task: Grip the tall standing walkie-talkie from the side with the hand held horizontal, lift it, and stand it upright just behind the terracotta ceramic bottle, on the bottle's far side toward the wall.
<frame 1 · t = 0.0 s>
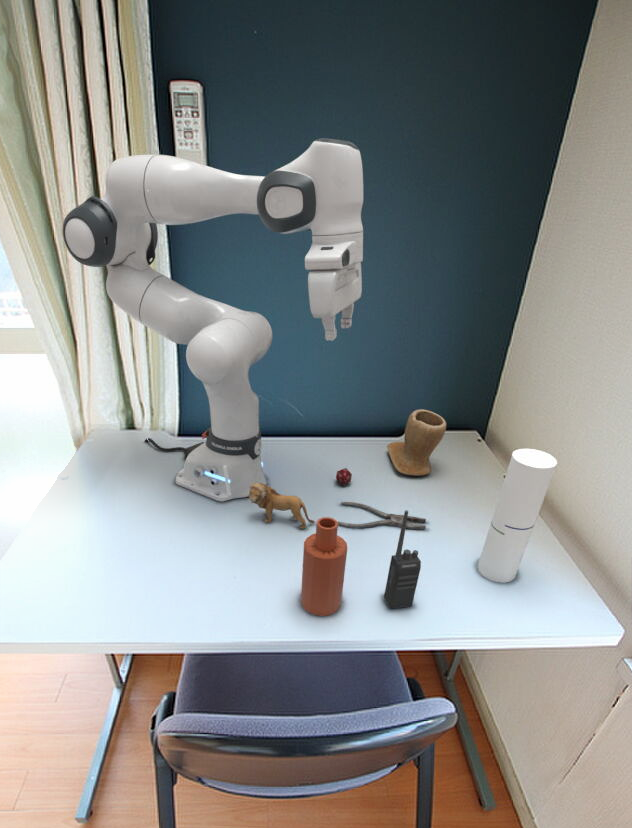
hand: (338, 333, 98), 39 cm above the table, tool pointing down, fingers open, 8 cm apart
cylindrical container: (496, 571, 102), on the table
bottle: (320, 601, 93), on the table
walkie-talkie: (397, 603, 93), on the table
stone cup: (412, 465, 137), on the table
pliers: (379, 517, 116), on the table
dice: (343, 484, 128), on the table
lion figurine: (279, 522, 114), on the table
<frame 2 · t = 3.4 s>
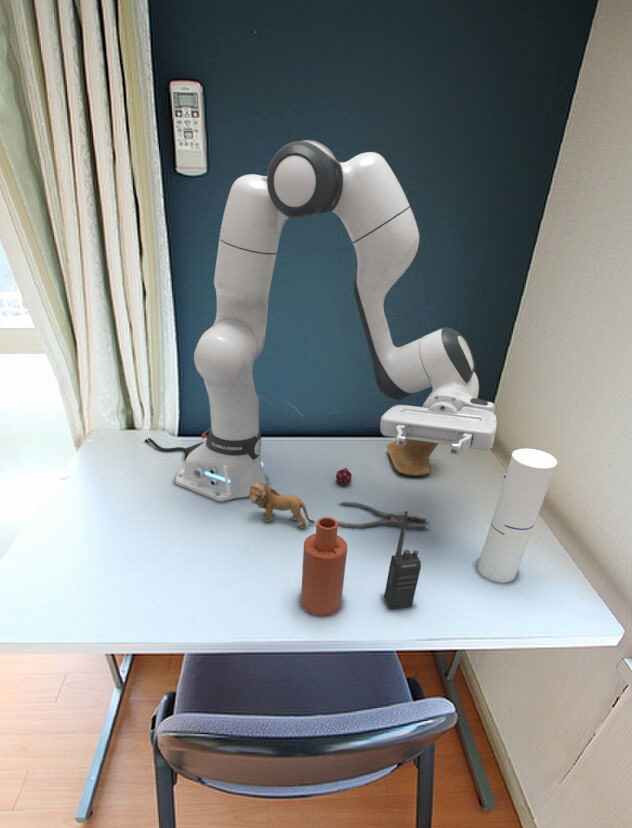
hand: (427, 446, 88), 26 cm above the table, tool horizontal, fingers open, 8 cm apart
nothing on the table moved.
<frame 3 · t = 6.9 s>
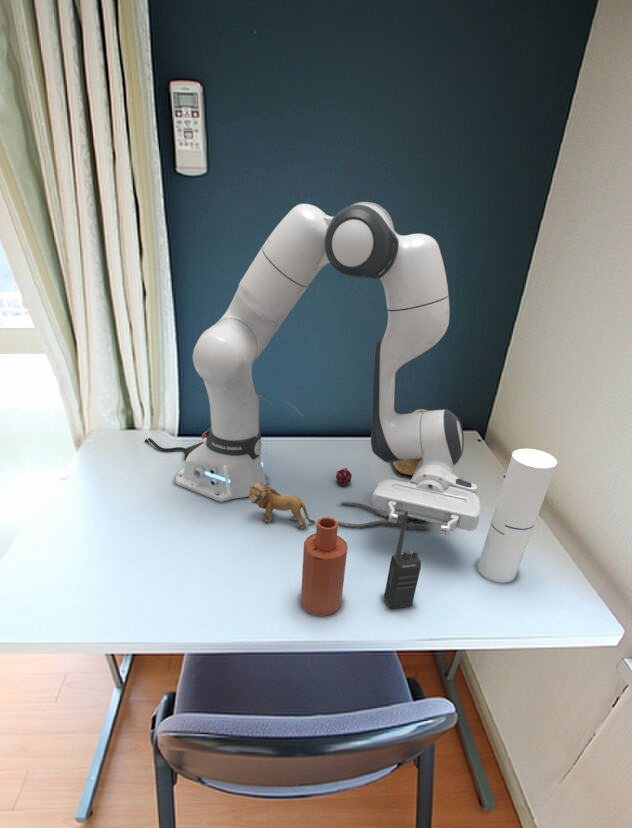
hand: (418, 525, 94), 11 cm above the table, tool horizontal, fingers open, 8 cm apart
nothing on the table moved.
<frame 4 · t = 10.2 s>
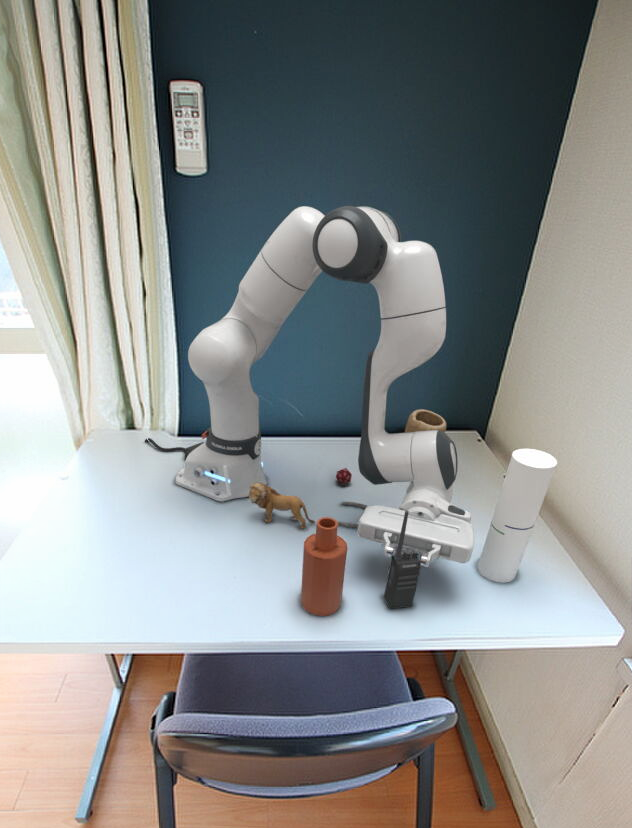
hand: (406, 558, 86), 11 cm above the table, tool horizontal, fingers closed on walkie-talkie, 5 cm apart
walkie-talkie: (397, 603, 93), on the table, touching gripper
everything else where it was.
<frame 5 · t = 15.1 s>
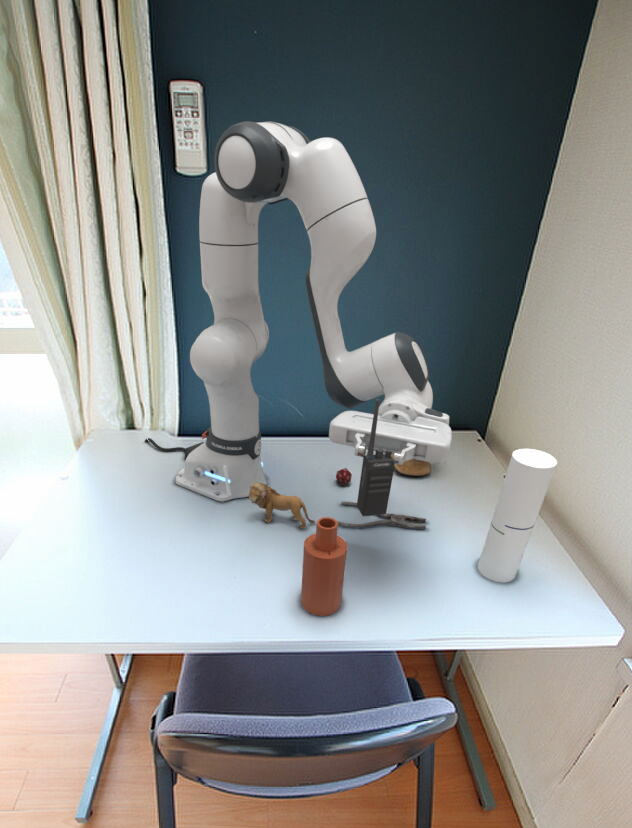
hand: (378, 456, 81), 28 cm above the table, tool horizontal, fingers closed on walkie-talkie, 5 cm apart
walkie-talkie: (371, 512, 88), point 16 cm above the table, touching gripper
everything else where it was.
when the fingers open (11 cm above the table, at t = 20.6 s): walkie-talkie stays where it is, on the table.
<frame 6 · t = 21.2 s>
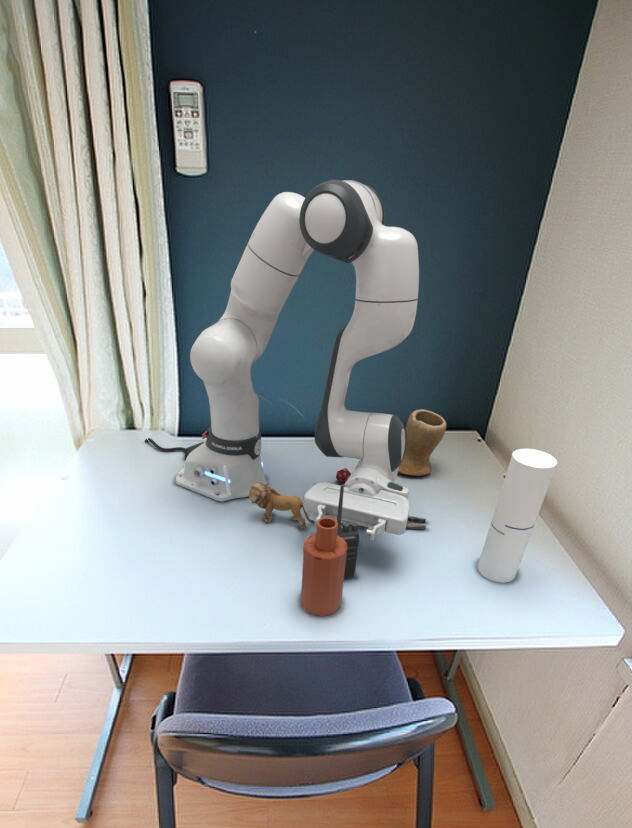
hand: (344, 529, 93), 11 cm above the table, tool horizontal, fingers open, 8 cm apart
walkie-talkie: (341, 575, 100), on the table
everything else where it was.
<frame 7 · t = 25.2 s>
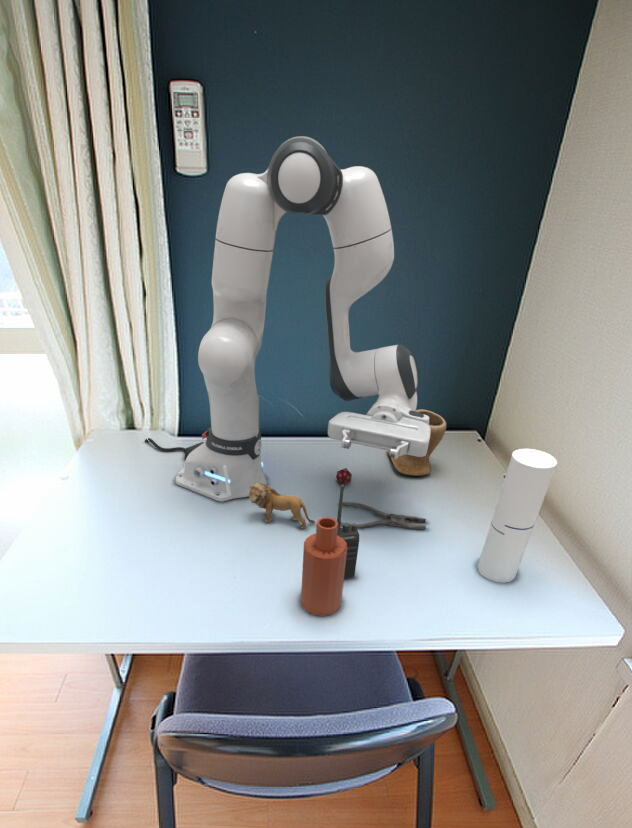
hand: (368, 449, 97), 21 cm above the table, tool horizontal, fingers open, 8 cm apart
nothing on the table moved.
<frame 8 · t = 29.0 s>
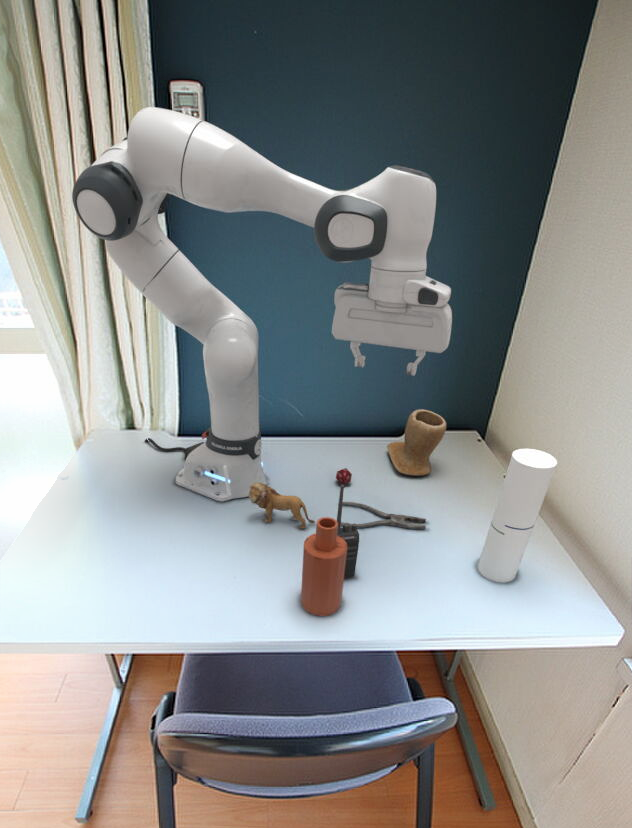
hand: (384, 370, 92), 35 cm above the table, tool pointing down, fingers open, 8 cm apart
nothing on the table moved.
at the end: walkie-talkie inside the target area on the table beside the bottle (0.2 cm from its centre), on the table; walkie-talkie tilted 0°; bottle moved 0.0 cm from its start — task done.
